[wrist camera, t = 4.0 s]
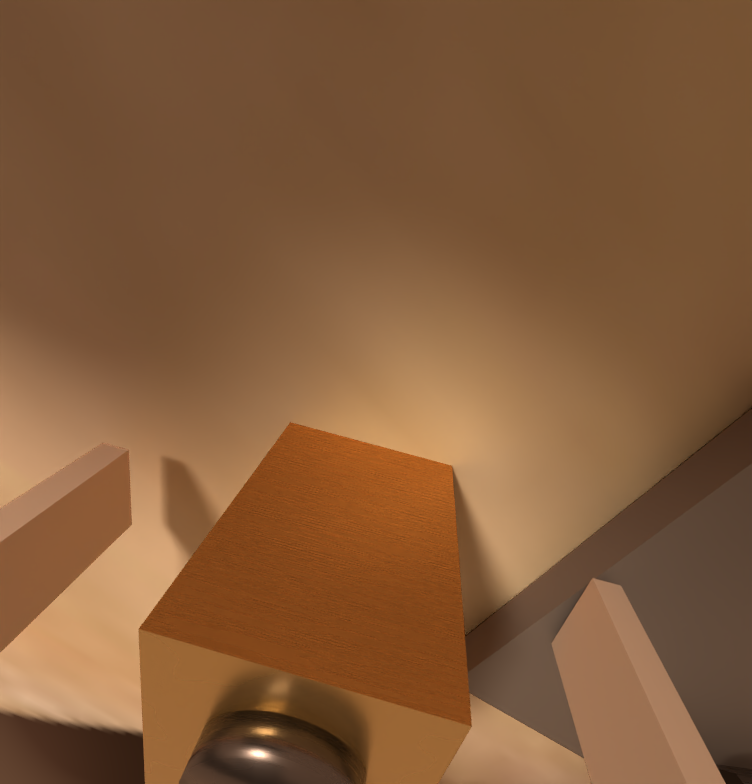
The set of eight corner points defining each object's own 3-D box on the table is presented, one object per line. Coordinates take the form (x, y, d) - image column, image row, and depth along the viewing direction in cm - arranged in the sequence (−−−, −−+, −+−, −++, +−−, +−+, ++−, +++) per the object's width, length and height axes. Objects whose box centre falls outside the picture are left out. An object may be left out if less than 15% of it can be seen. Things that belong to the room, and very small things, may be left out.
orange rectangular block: (290, 422, 11) (106, 673, 5) (451, 465, 11) (475, 783, 5) (272, 542, 13) (122, 835, 7) (409, 581, 13) (385, 917, 7)
